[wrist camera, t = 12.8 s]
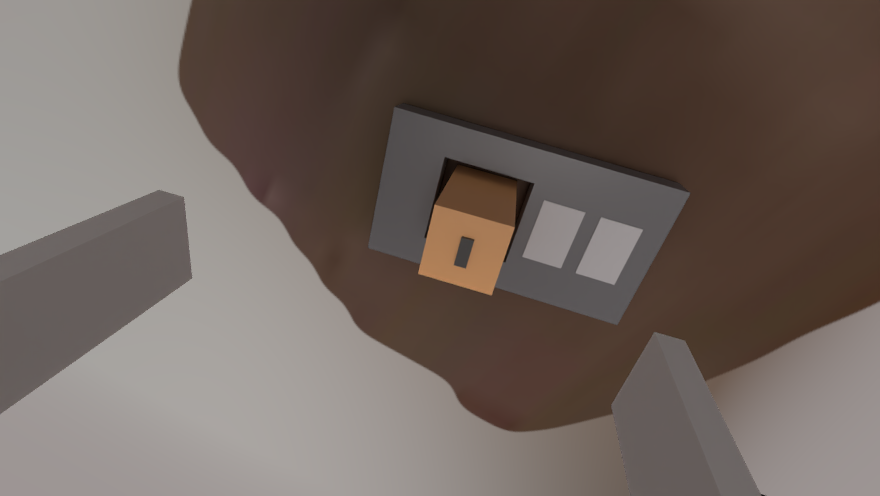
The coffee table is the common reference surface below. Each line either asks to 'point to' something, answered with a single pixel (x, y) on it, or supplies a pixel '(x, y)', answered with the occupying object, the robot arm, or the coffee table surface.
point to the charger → (470, 229)
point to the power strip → (532, 211)
